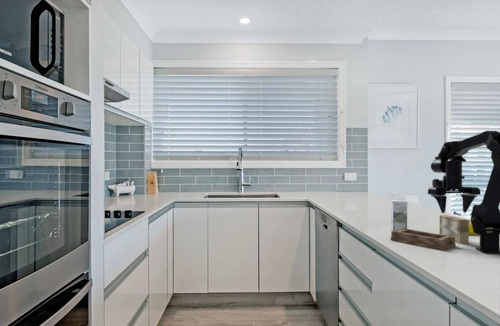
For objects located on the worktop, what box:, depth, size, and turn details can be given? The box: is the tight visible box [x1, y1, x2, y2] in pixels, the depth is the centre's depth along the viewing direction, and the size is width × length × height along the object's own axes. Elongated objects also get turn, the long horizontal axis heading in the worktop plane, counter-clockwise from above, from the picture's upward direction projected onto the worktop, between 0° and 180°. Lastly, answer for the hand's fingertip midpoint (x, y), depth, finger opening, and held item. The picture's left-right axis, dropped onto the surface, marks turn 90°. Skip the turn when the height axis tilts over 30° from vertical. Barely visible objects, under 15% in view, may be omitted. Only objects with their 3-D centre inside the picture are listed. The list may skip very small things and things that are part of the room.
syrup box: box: [390, 199, 408, 232], centre depth 153 cm, size 6×6×14 cm
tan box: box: [439, 214, 470, 245], centre depth 141 cm, size 12×4×9 cm, turn 7°
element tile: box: [468, 219, 493, 236], centre depth 158 cm, size 15×15×5 cm
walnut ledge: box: [390, 228, 457, 251], centre depth 136 cm, size 20×10×4 cm, turn 37°
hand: (453, 212), depth 141 cm, fingers open, 9 cm apart
